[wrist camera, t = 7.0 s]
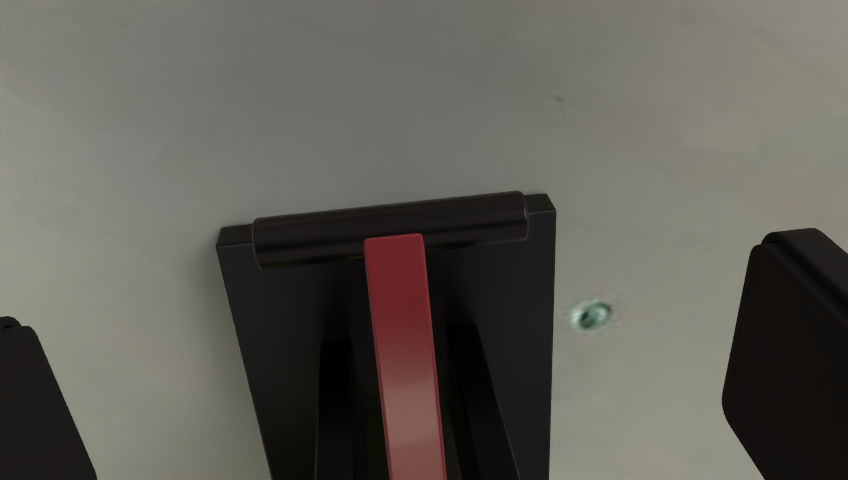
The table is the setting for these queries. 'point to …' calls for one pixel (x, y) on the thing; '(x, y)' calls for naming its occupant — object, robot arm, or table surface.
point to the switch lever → (398, 296)
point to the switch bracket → (356, 361)
